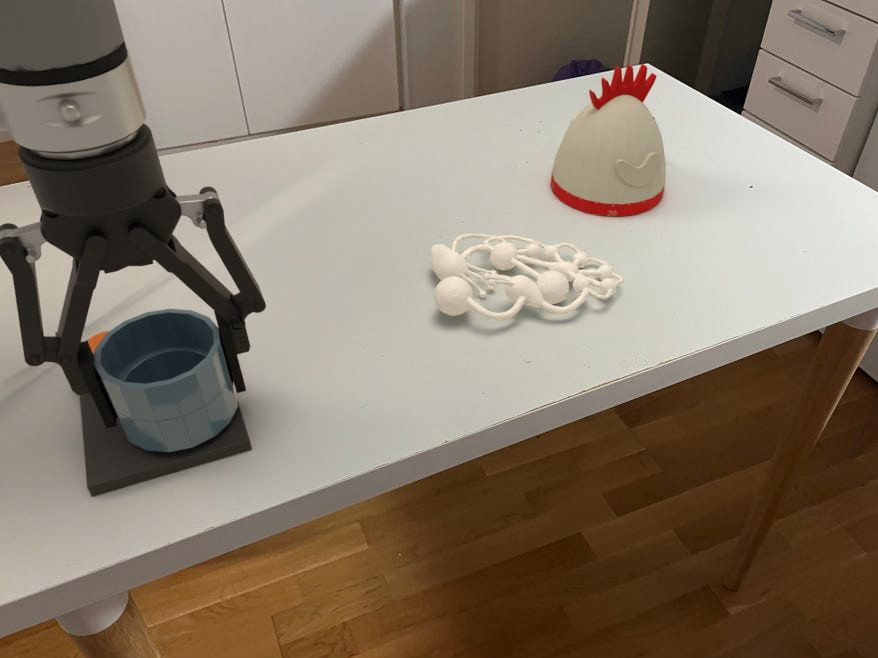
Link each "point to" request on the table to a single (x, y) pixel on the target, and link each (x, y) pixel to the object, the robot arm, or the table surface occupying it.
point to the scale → (146, 452)
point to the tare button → (96, 340)
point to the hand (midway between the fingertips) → (176, 398)
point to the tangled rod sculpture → (548, 289)
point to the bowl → (167, 379)
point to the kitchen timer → (612, 151)
